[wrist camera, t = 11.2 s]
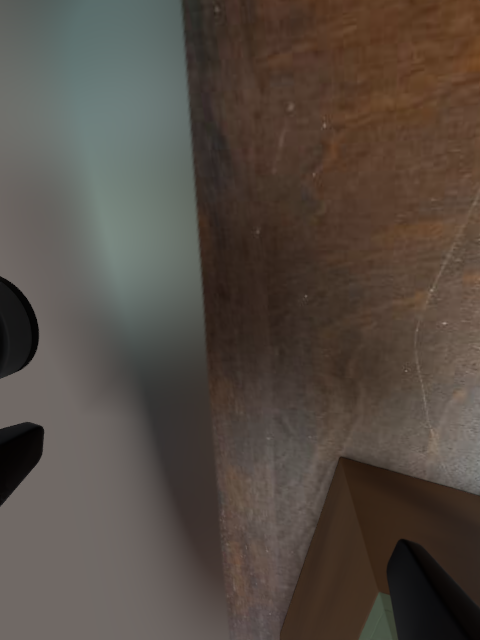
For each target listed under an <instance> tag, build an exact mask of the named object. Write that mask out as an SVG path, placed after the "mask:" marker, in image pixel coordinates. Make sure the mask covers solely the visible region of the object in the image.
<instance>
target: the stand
mask: <svg viewBox="0 0 480 640" xmlns="http://www.w3.org/2000/svg"><path fill="white" fill-rule="evenodd" d="M400 539H407V540H410V541H413V542H417V543H419V544H420V545H422V546H423V547H424V548H425V549H426V550H427V551H428V553H429V554H430V555H431V556H432V557H433V558H434V559H435V560H436V561H437V562H438V563H439V564H440V565H441V567H442V568H443V569H444V570H445V571H446V572H447V573H448V574H449V575H450V576H451V577H452V578H453V579H454V581H455V582H456V583H457V584H458V585H459V586H460V587H461V588H462V589H463V590H464V591H465V592H466V593H467V595H468V596H469V597H470V598H471V599H472V600H473V601H474V602H475V603H476V604H477V605H478V606H479V607H480V496H478V495H474V494H470V493H467V492H463V491H460V490H456V489H453V488H449V487H445V486H442V485H438V484H435V483H431V482H428V481H424V480H420V479H417V478H413V477H410V476H406V475H403V474H399V473H395V472H392V471H388V470H385V469H381V468H378V467H374V466H370V465H367V464H363V463H360V462H356V461H353V460H349V459H345V458H342V457H340V459H339V462H338V465H337V468H336V471H335V474H334V477H333V480H332V483H331V486H330V489H329V492H328V495H327V498H326V501H325V504H324V507H323V509H322V512H321V515H320V518H319V521H318V524H317V527H316V530H315V533H314V536H313V539H312V542H311V545H310V548H309V551H308V554H307V557H306V560H305V563H304V565H303V568H302V571H301V574H300V577H299V580H298V583H297V586H296V589H295V592H294V595H293V598H292V601H291V604H290V607H289V610H288V613H287V616H286V619H285V622H284V624H283V627H282V630H281V633H280V640H359V637H360V635H361V633H362V630H363V628H364V626H365V623H366V621H367V619H368V616H369V614H370V612H371V610H372V607H373V605H374V603H375V600H376V598H377V596H378V593H379V592H381V593H384V594H387V595H390V592H389V587H388V581H387V574H386V569H387V564H388V561H389V559H390V557H391V555H392V552H393V550H394V548H395V546H396V544H397V542H398V540H400Z"/></svg>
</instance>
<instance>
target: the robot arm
mask: <svg viewBox="0 0 480 640" xmlns="http://www.w3.org/2000/svg"><path fill="white" fill-rule="evenodd" d="M43 439H44V429H43V427H42V426H40V425H37V424H34V423H30V422H25V423H21V424H17V425H14V426H10V427H6V428H3V429H0V506H1V505H2V504H3V503H4V502H5V501H6V499H7V498H8V497H9V496H10V495H11V494H12V492H13V491H14V490H15V489H16V488H17V487H18V485H19V484H20V483H21V482H22V481H23V479H24V478H25V477H26V476H27V475H28V474H29V473H30V471H31V470H32V469H33V468H34V467H35V466H36V464H37V463H38V462H39V460H40V458H41V456H42V452H43ZM386 574H387V581H388V587H389V592H390V598H391V603H392V609H393V614H394V620H395V625H396V631H397V637H398V640H480V607H479V606H478V605H477V604H476V603H475V602H474V601H473V600H472V599H471V598H470V597H469V596H468V595H467V593H466V592H465V591H464V590H463V589H462V588H461V587H460V586H459V585H458V584H457V583H456V582H455V581H454V579H453V578H452V577H451V576H450V575H449V574H448V573H447V572H446V571H445V570H444V569H443V568H442V567H441V565H440V564H439V563H438V562H437V561H436V560H435V559H434V558H433V557H432V556H431V555H430V554H429V553H428V551H427V550H426V549H425V548H424V547H423V546H422V545H420V544H419V543H417V542H413V541H410V540H407V539H400V540H398V542H397V544H396V546H395V548H394V550H393V552H392V555H391V557H390V559H389V561H388V564H387V569H386Z"/></svg>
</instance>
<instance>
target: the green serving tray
mask: <svg viewBox="0 0 480 640" xmlns="http://www.w3.org/2000/svg"><path fill="white" fill-rule="evenodd" d="M359 640H398V637H397V631H396V625H395V620H394V614H393V609H392V603H391V598H390V595H387V594H384V593H381V592H379V593H378V596H377V598H376V600H375V603H374V605H373V607H372V610H371V612H370V614H369V616H368V619H367V621H366V623H365V626H364V628H363V630H362V633H361V635H360V637H359Z"/></svg>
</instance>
